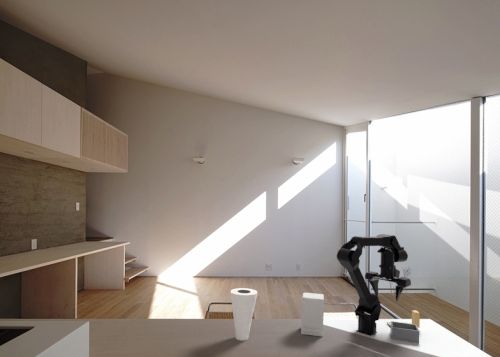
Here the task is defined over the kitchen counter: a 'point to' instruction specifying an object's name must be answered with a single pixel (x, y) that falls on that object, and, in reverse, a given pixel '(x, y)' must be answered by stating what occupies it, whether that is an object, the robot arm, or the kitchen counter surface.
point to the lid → (413, 319)
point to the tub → (404, 332)
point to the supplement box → (312, 314)
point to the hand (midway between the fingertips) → (386, 298)
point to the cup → (243, 310)
